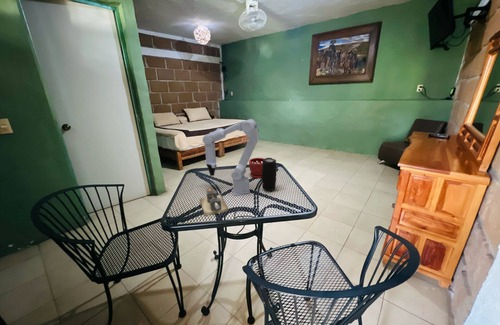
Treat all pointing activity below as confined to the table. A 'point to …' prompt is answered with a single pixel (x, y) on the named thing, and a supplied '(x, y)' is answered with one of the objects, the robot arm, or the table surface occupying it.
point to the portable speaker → (269, 174)
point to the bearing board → (209, 206)
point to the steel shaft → (213, 198)
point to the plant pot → (256, 167)
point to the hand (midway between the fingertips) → (212, 175)
